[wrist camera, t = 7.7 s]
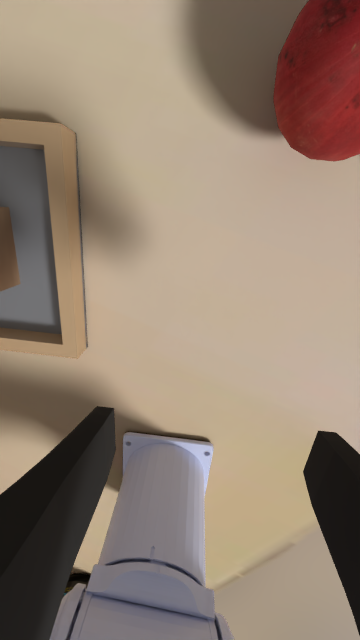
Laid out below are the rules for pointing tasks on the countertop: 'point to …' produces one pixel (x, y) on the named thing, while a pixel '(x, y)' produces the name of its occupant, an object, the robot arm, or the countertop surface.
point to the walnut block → (7, 252)
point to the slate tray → (43, 240)
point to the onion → (321, 81)
